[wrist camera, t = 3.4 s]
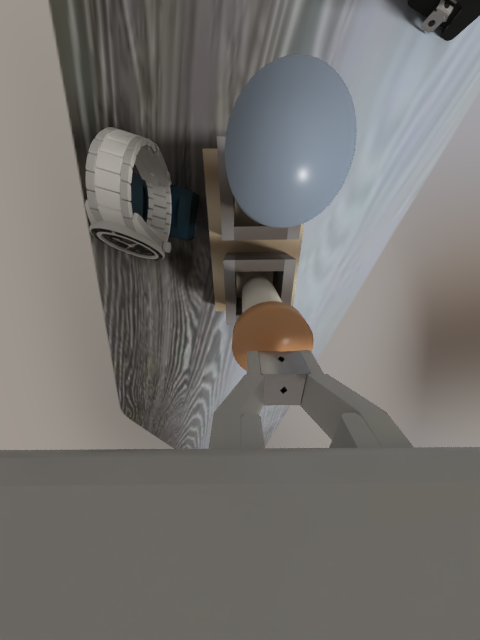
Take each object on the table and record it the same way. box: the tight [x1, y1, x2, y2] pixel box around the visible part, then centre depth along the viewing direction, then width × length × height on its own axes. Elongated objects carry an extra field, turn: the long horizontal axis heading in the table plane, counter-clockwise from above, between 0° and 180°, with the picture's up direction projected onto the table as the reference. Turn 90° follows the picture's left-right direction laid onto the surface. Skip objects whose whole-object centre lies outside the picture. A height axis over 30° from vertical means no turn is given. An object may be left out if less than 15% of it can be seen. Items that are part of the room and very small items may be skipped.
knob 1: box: [225, 54, 357, 228], centre depth 10 cm, size 4×4×9 cm
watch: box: [85, 127, 199, 260], centre depth 15 cm, size 6×8×11 cm
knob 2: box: [232, 276, 313, 371], centre depth 14 cm, size 4×4×9 cm
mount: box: [202, 136, 304, 324], centre depth 19 cm, size 16×10×7 cm, turn 1°
